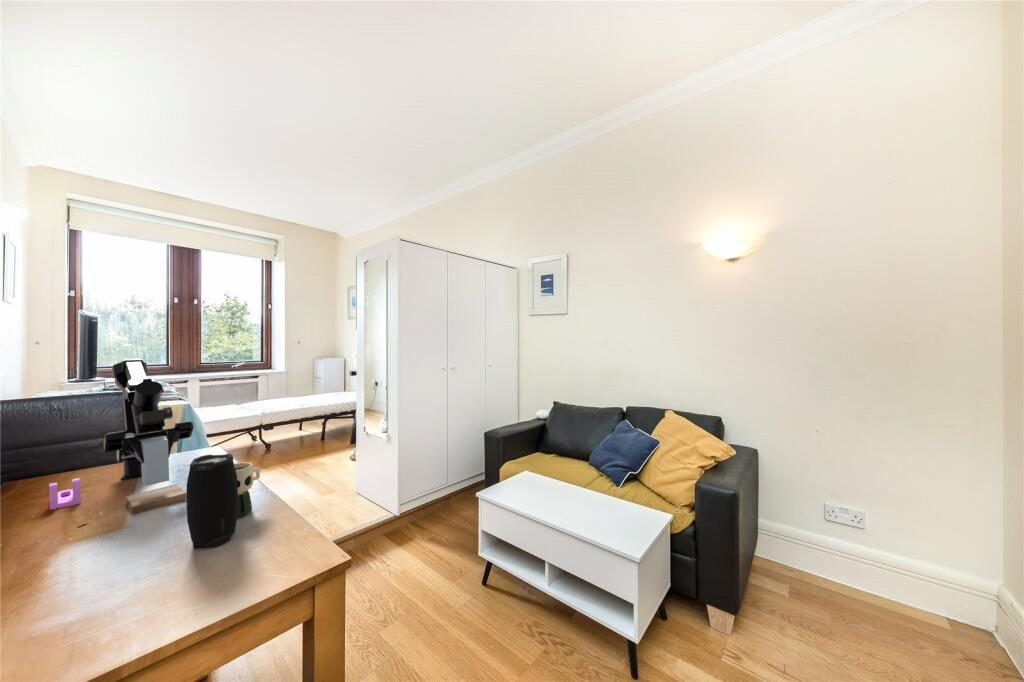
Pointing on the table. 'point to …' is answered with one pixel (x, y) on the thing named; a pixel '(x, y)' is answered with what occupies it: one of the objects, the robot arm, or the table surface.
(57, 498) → the bracket
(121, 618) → the table surface
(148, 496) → the plinth
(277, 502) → the table surface
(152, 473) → the block
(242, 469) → the character mug
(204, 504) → the portable speaker
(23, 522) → the table surface
